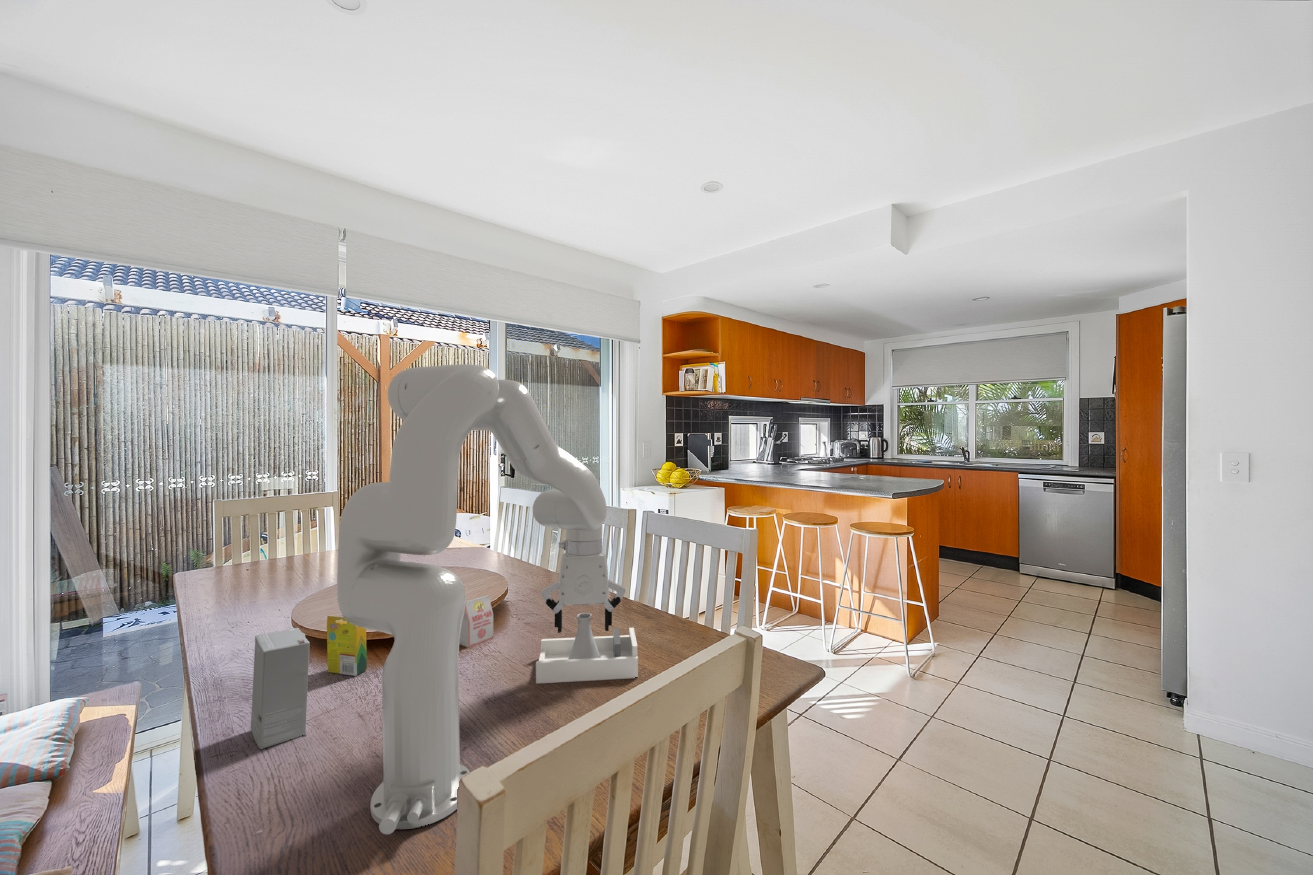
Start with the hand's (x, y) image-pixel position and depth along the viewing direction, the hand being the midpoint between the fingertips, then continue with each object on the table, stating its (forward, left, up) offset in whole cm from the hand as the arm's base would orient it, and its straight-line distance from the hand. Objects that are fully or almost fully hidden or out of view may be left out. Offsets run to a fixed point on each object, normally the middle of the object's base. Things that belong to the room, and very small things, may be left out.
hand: (583, 629), depth 112 cm
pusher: (0, -7, -7) cm, 10 cm away
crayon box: (+4, +48, -8) cm, 49 cm away
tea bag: (+17, +25, -8) cm, 32 cm away
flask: (0, 0, -7) cm, 7 cm away
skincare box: (-18, +49, -8) cm, 53 cm away
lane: (0, -1, -8) cm, 8 cm away
